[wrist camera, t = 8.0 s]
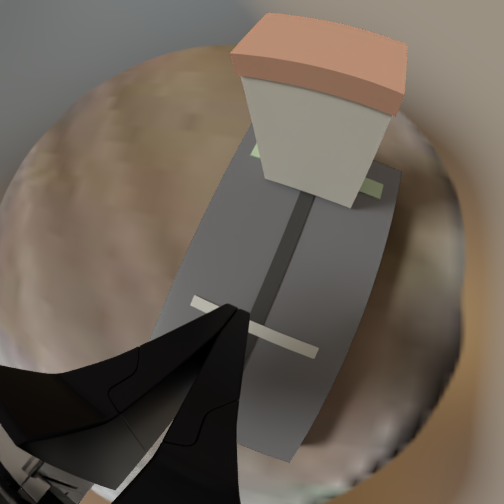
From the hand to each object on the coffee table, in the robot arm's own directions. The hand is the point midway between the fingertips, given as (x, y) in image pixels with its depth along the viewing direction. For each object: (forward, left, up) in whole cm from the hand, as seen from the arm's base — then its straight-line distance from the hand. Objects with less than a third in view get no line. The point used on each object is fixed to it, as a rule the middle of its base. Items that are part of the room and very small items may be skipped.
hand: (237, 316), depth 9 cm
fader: (+8, -3, -5) cm, 10 cm away
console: (+1, 0, -7) cm, 7 cm away
